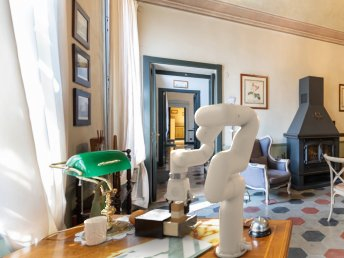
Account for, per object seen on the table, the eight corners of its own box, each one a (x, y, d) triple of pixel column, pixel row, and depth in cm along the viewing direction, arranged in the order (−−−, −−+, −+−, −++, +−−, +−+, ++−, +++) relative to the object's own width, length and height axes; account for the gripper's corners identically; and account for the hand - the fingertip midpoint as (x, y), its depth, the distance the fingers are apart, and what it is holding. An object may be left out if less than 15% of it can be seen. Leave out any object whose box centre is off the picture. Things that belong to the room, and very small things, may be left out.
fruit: (153, 219, 125) (145, 208, 122) (140, 231, 120) (131, 220, 116) (145, 216, 130) (137, 205, 126) (132, 227, 124) (123, 217, 120)
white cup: (94, 247, 99) (94, 223, 99) (79, 245, 100) (79, 222, 100) (111, 238, 106) (111, 216, 106) (97, 236, 108) (97, 215, 108)
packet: (187, 226, 114) (187, 200, 114) (178, 232, 108) (178, 204, 108) (179, 226, 115) (179, 199, 115) (170, 231, 109) (170, 203, 109)
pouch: (104, 224, 123) (104, 176, 122) (120, 227, 118) (120, 178, 118) (79, 232, 112) (79, 181, 112) (95, 237, 108) (95, 183, 108)
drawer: (205, 228, 115) (205, 215, 115) (190, 239, 104) (190, 225, 104) (173, 225, 119) (173, 212, 119) (155, 235, 108) (155, 221, 108)
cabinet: (180, 227, 119) (180, 210, 119) (161, 238, 106) (161, 220, 106) (155, 224, 122) (155, 208, 122) (134, 235, 109) (134, 218, 109)
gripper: (157, 176, 110) (157, 214, 110) (190, 178, 106) (190, 217, 106) (168, 173, 117) (169, 208, 117) (200, 175, 113) (200, 211, 113)
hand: (179, 212), depth 111 cm, fingers open, 7 cm apart
